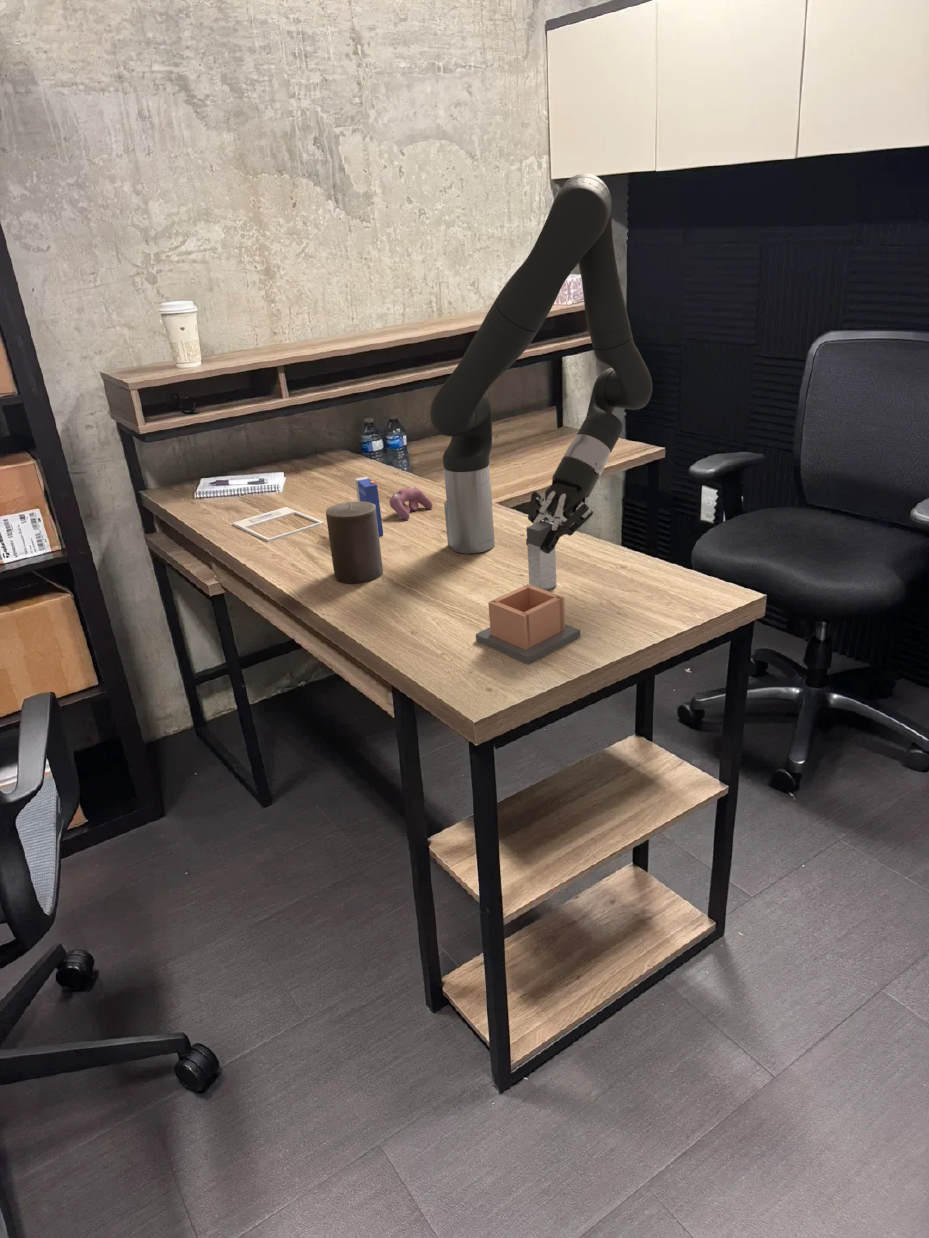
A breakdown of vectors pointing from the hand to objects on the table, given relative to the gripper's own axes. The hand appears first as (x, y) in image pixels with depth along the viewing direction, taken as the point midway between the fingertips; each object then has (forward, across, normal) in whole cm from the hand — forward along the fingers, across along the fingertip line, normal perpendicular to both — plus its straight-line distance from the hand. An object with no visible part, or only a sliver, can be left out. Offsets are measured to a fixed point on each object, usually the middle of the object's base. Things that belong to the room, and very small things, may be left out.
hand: (537, 548), depth 149 cm
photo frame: (+15, -74, -2) cm, 75 cm away
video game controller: (-3, -54, +15) cm, 56 cm away
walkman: (+6, -51, +5) cm, 52 cm away
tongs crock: (+16, +12, -5) cm, 21 cm away
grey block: (+5, 0, +6) cm, 8 cm away
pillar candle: (+18, -33, -6) cm, 38 cm away
